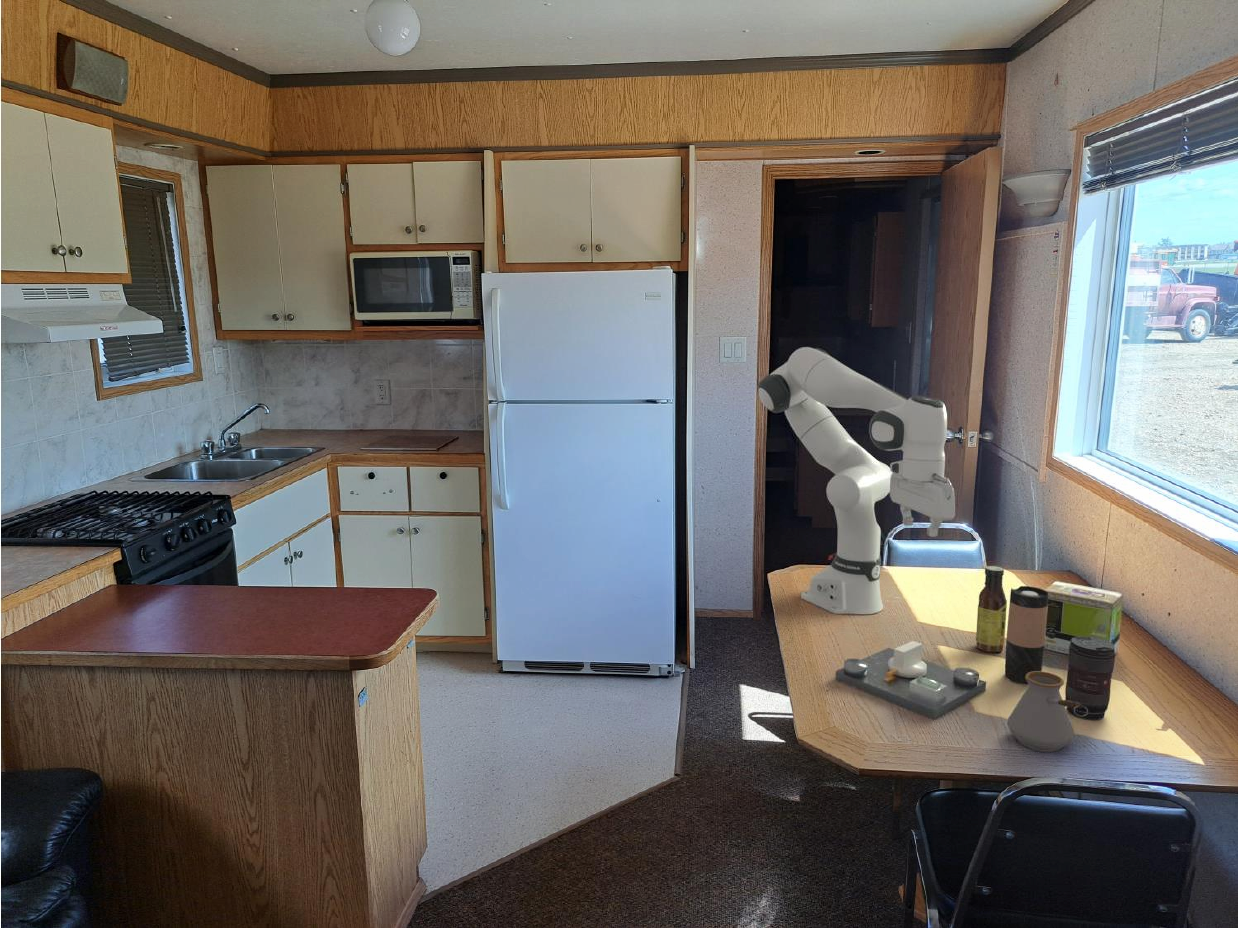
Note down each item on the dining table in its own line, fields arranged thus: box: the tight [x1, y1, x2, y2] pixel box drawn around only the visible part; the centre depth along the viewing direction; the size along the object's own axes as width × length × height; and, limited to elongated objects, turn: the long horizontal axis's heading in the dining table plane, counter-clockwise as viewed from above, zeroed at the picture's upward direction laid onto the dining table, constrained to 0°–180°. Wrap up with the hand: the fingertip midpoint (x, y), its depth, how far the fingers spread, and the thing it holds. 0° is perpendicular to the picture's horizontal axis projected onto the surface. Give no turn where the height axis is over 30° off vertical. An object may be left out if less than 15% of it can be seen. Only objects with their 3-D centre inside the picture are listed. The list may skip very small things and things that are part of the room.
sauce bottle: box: [975, 565, 1008, 653], centre depth 206 cm, size 6×6×20 cm
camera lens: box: [1064, 636, 1116, 721], centre depth 175 cm, size 8×8×15 cm
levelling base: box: [834, 647, 987, 720], centre depth 188 cm, size 24×20×6 cm
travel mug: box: [1004, 585, 1049, 686], centre depth 190 cm, size 8×8×20 cm
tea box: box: [1044, 580, 1124, 655], centre depth 205 cm, size 15×10×15 cm, turn 48°
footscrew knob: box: [887, 640, 927, 678], centre depth 190 cm, size 11×8×6 cm
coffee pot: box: [1007, 671, 1088, 753], centre depth 159 cm, size 21×12×15 cm, turn 175°
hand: (919, 530), depth 196 cm, fingers open, 8 cm apart
